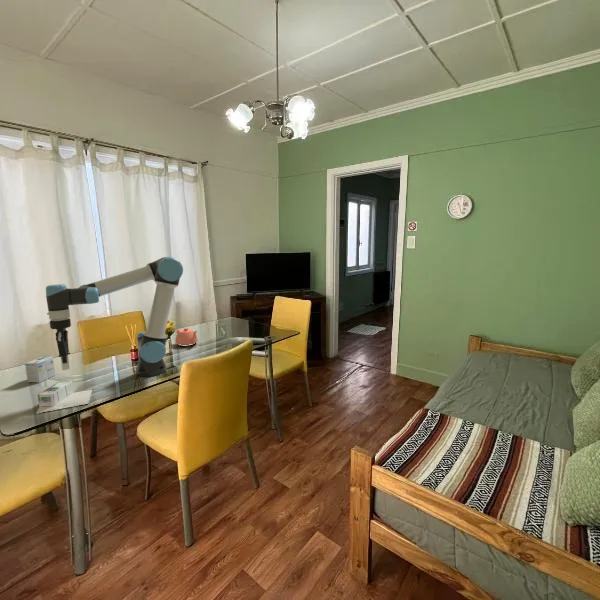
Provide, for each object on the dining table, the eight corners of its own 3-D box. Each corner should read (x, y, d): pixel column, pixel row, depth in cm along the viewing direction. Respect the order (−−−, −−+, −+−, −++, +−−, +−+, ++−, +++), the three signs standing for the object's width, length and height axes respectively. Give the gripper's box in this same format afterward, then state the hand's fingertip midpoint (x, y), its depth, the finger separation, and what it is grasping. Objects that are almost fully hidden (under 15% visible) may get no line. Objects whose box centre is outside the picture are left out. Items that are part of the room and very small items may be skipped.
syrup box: (72, 380, 151) (51, 393, 137) (73, 392, 152) (53, 406, 138) (59, 381, 151) (37, 394, 136) (61, 393, 152) (38, 407, 137)
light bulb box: (44, 375, 175) (41, 356, 173) (56, 375, 175) (53, 356, 173) (27, 383, 165) (24, 363, 163) (39, 383, 164) (37, 363, 163)
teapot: (206, 344, 231) (205, 328, 229) (188, 350, 219) (187, 332, 217) (186, 340, 243) (185, 324, 241) (169, 345, 231) (167, 328, 229)
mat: (92, 390, 155) (91, 389, 155) (88, 404, 141) (88, 403, 141) (45, 398, 147) (45, 397, 146) (36, 414, 133) (36, 413, 132)
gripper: (52, 317, 148) (59, 366, 152) (46, 322, 137) (53, 375, 141) (72, 315, 152) (78, 363, 155) (67, 320, 140) (73, 372, 144)
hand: (66, 369), depth 148 cm, fingers closed
